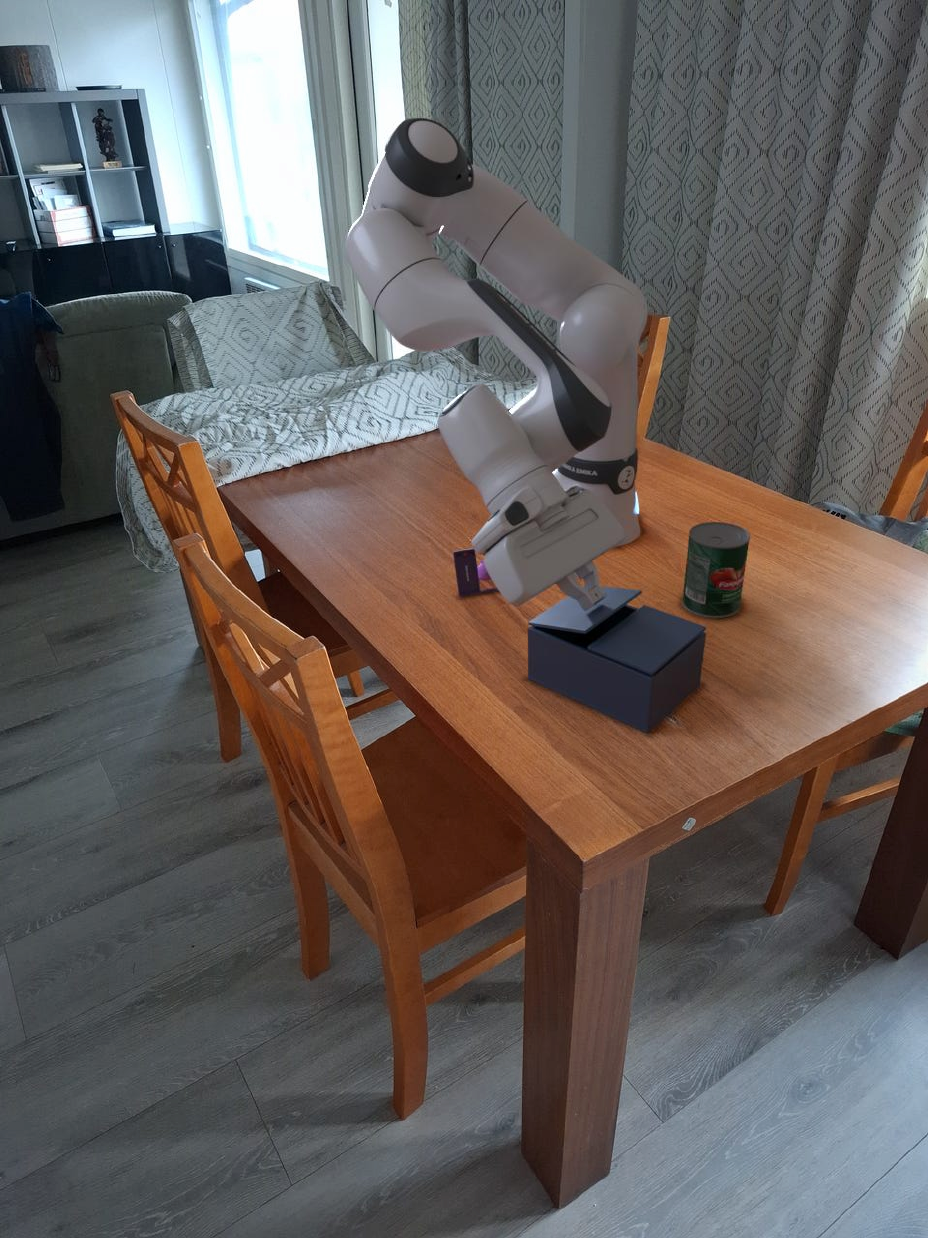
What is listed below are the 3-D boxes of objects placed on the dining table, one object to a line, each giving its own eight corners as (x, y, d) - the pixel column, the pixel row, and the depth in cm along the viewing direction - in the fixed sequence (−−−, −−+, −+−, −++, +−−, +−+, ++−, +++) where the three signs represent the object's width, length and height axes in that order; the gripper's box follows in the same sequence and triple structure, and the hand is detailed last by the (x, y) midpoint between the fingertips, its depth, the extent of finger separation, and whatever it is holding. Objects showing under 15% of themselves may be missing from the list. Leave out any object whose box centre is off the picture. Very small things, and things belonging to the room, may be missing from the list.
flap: (528, 625, 98) (527, 622, 98) (586, 587, 106) (585, 584, 106) (585, 634, 93) (584, 630, 92) (642, 593, 100) (641, 590, 100)
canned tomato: (691, 586, 121) (699, 517, 115) (746, 598, 117) (756, 527, 112) (674, 611, 115) (681, 539, 109) (731, 624, 111) (741, 550, 106)
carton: (527, 679, 102) (527, 622, 98) (584, 638, 110) (585, 584, 106) (647, 734, 92) (652, 672, 88) (700, 685, 100) (707, 626, 96)
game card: (454, 552, 119) (513, 542, 121) (446, 549, 124) (503, 539, 126) (460, 597, 120) (519, 587, 122) (452, 592, 125) (509, 583, 127)
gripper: (567, 494, 107) (627, 582, 106) (460, 549, 95) (528, 649, 94) (597, 468, 102) (660, 560, 101) (489, 523, 90) (560, 629, 89)
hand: (596, 604), depth 97 cm, fingers closed
